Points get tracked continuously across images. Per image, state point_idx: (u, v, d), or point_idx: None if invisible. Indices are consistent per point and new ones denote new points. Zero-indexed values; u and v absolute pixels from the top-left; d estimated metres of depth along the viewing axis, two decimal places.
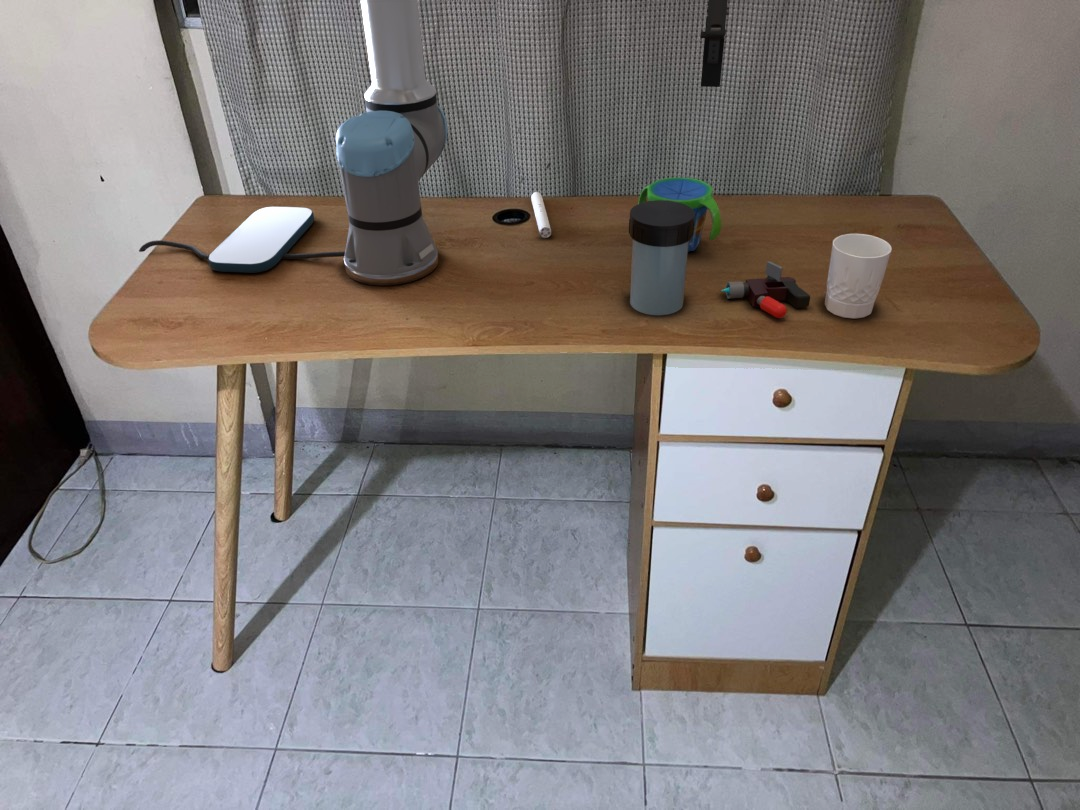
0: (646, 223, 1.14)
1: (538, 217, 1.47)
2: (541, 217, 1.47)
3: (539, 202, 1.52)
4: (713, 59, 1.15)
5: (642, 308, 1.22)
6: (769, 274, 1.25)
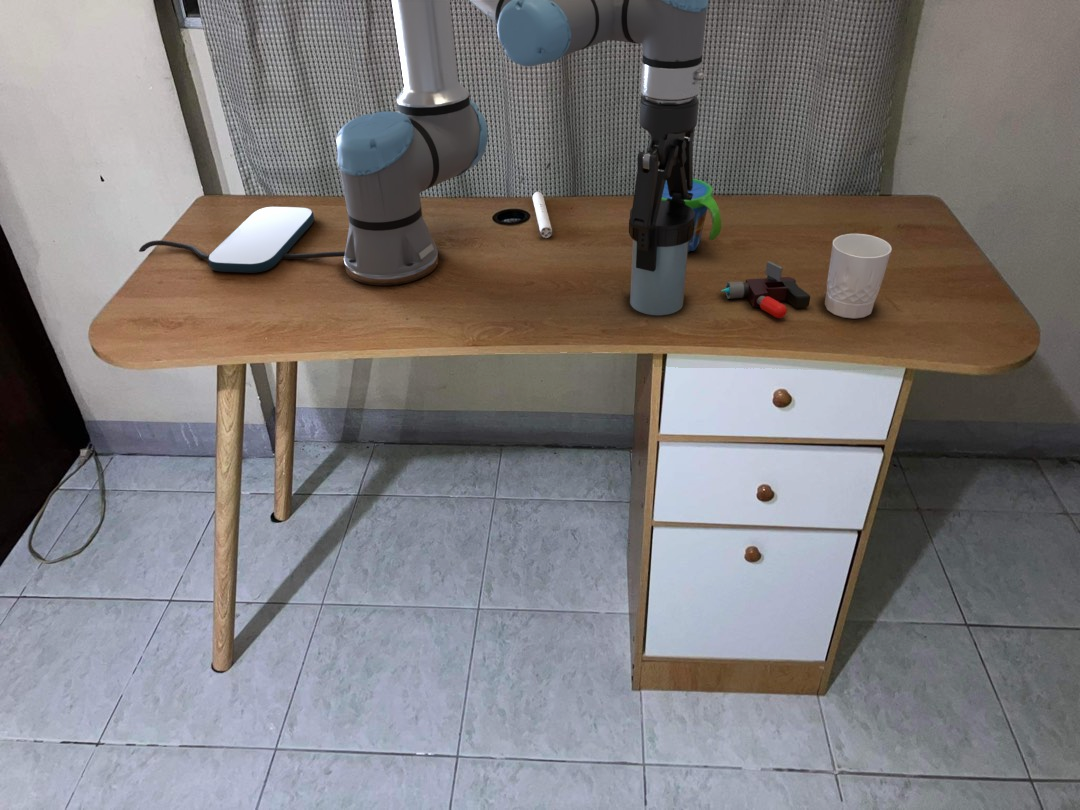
0: None
1: (539, 217, 1.47)
2: (542, 217, 1.47)
3: (540, 202, 1.52)
4: (643, 247, 1.14)
5: (642, 308, 1.22)
6: (769, 274, 1.25)
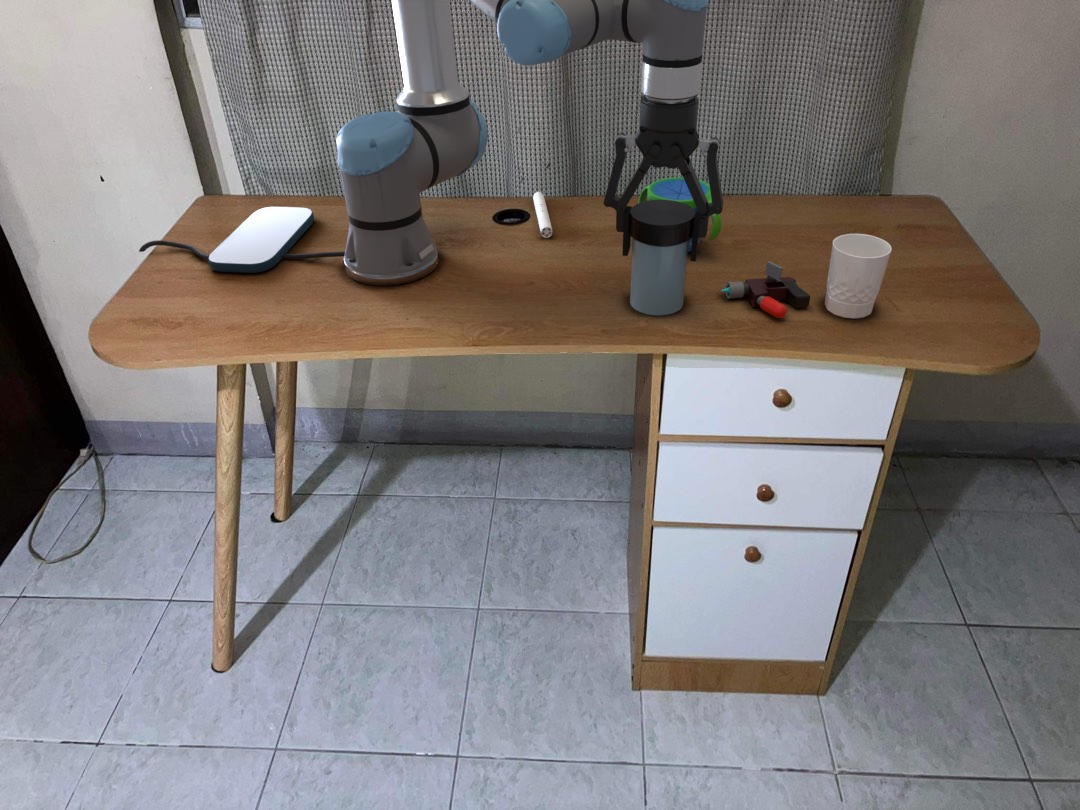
0: (692, 215, 1.15)
1: (539, 217, 1.47)
2: (542, 217, 1.47)
3: (541, 202, 1.52)
4: None
5: (642, 308, 1.22)
6: (769, 274, 1.25)
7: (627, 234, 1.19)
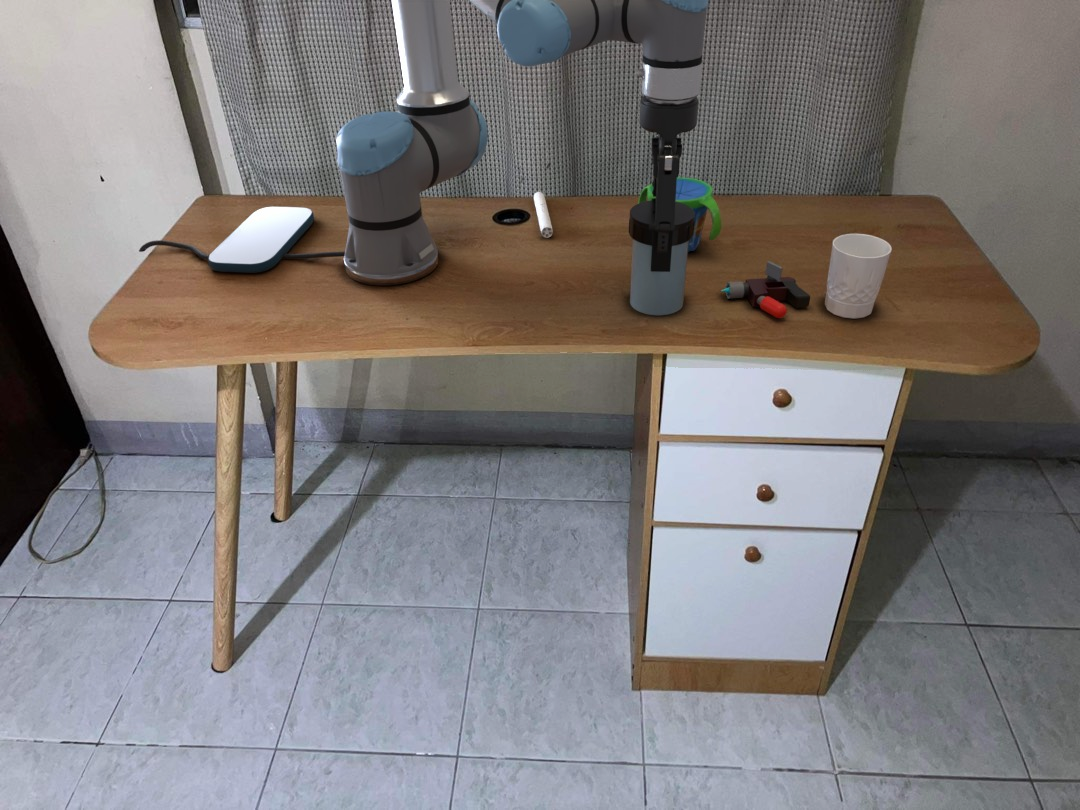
0: None
1: (540, 217, 1.47)
2: (543, 217, 1.47)
3: (541, 202, 1.52)
4: None
5: (642, 308, 1.22)
6: (769, 274, 1.25)
7: None
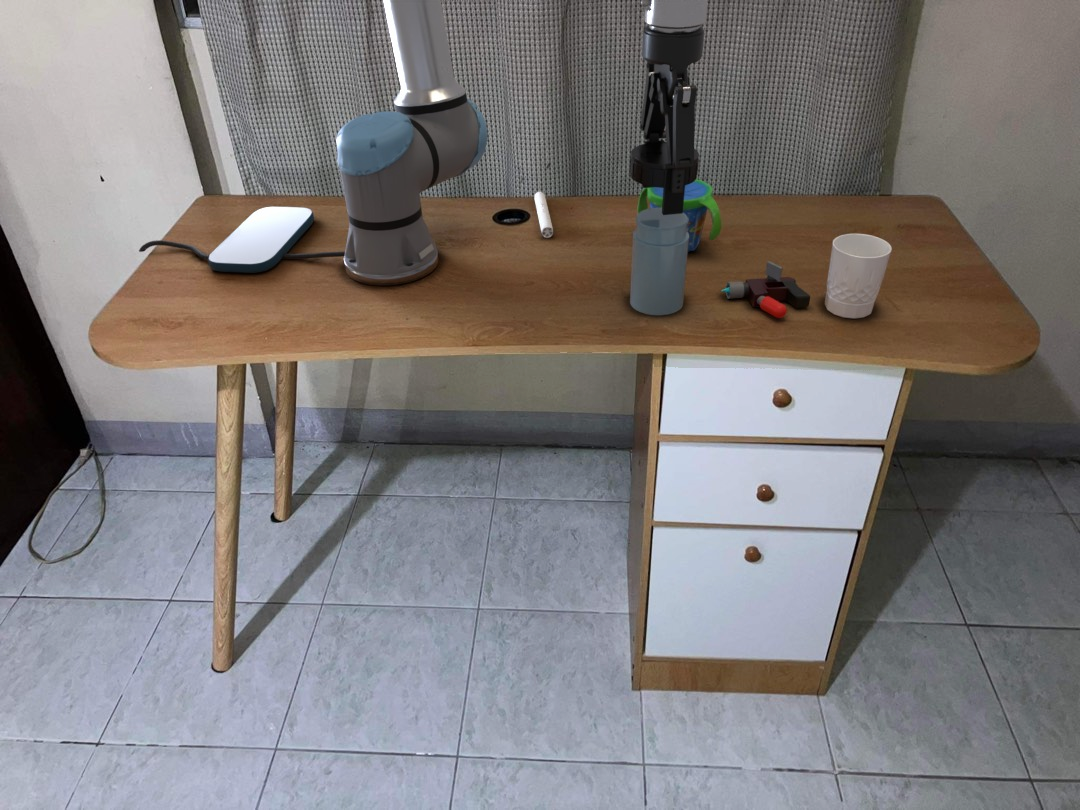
0: (659, 142, 1.15)
1: (540, 217, 1.47)
2: (543, 217, 1.47)
3: (542, 202, 1.52)
4: None
5: (642, 308, 1.22)
6: (769, 274, 1.25)
7: (682, 188, 1.10)
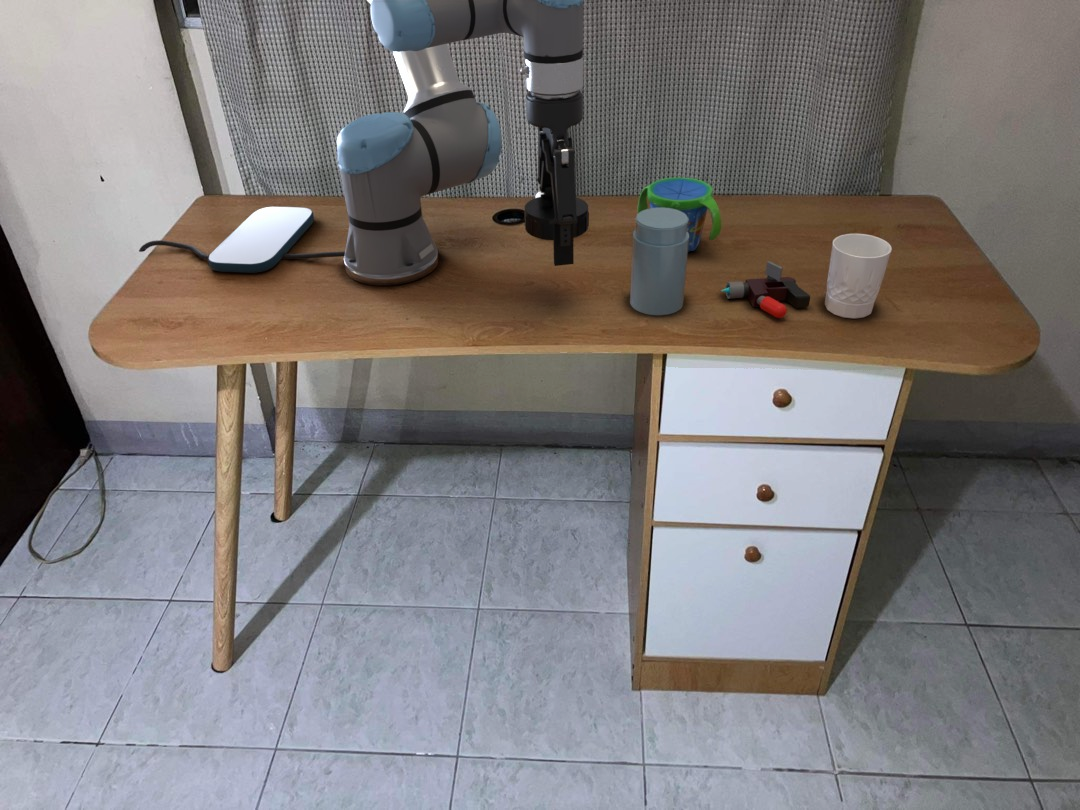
0: None
1: None
2: None
3: None
4: None
5: (642, 308, 1.22)
6: (769, 274, 1.25)
7: None
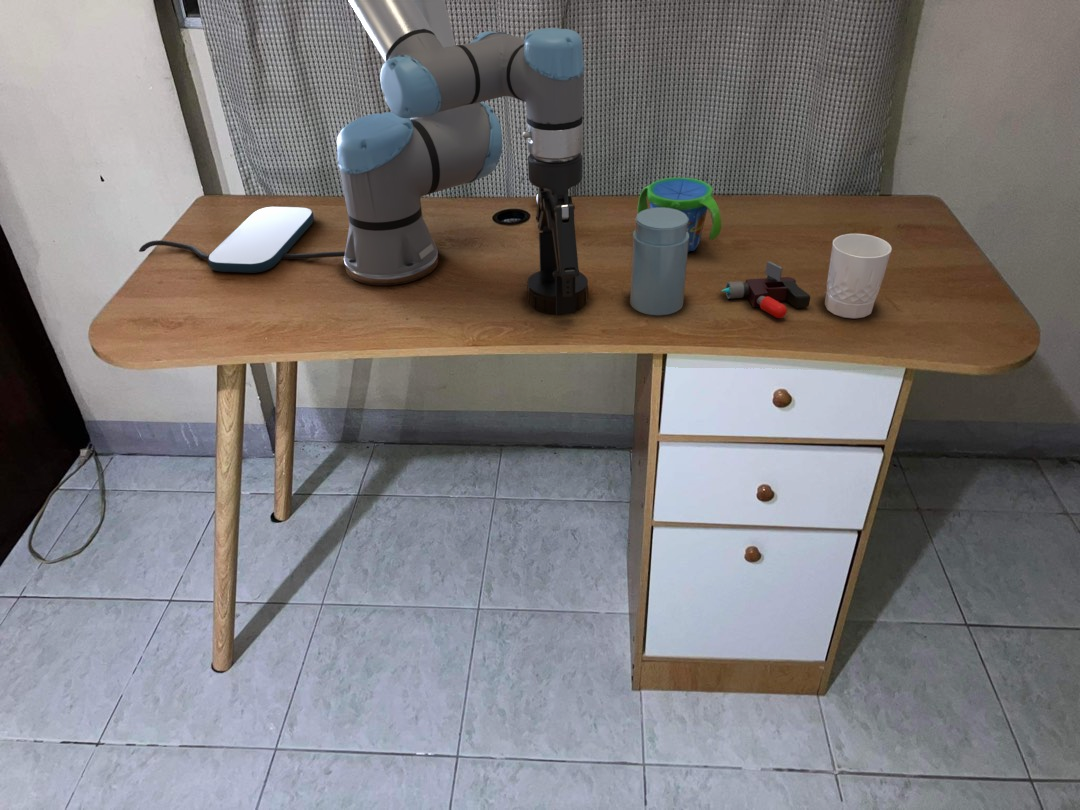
0: (555, 268, 1.28)
1: None
2: None
3: None
4: None
5: (642, 308, 1.22)
6: (769, 274, 1.25)
7: None
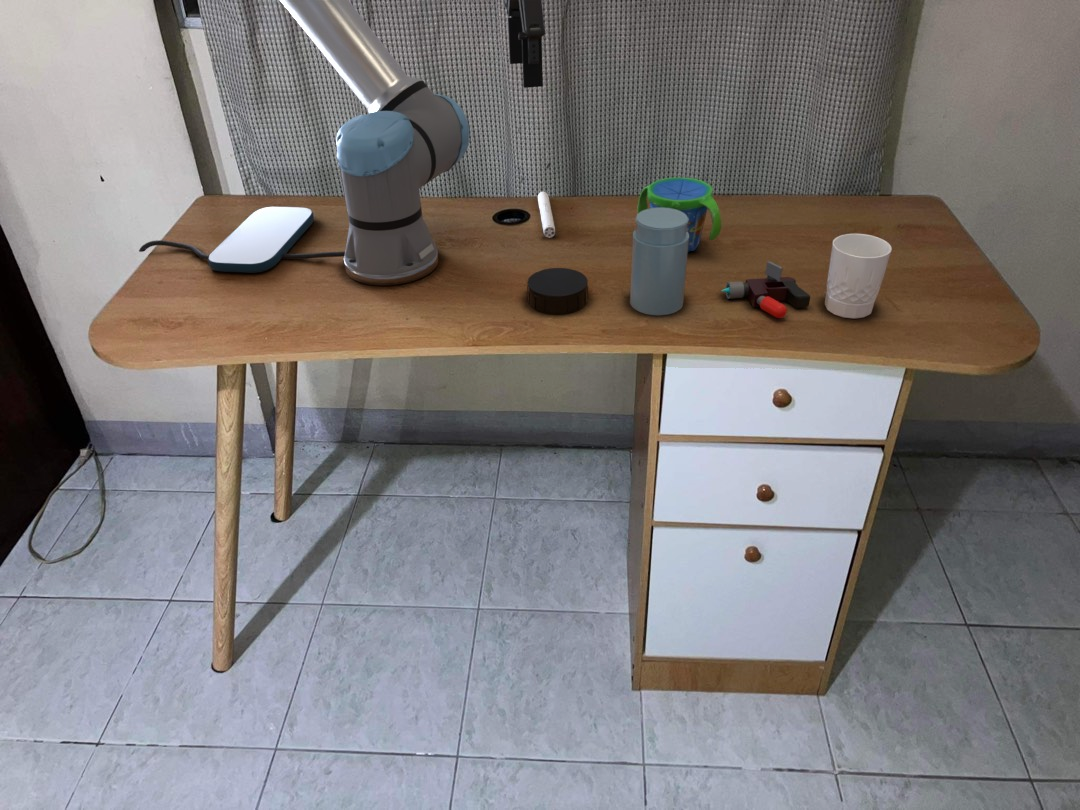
0: (555, 268, 1.28)
1: (543, 217, 1.48)
2: (545, 217, 1.47)
3: (545, 202, 1.52)
4: None
5: (642, 308, 1.22)
6: (769, 274, 1.25)
7: None
